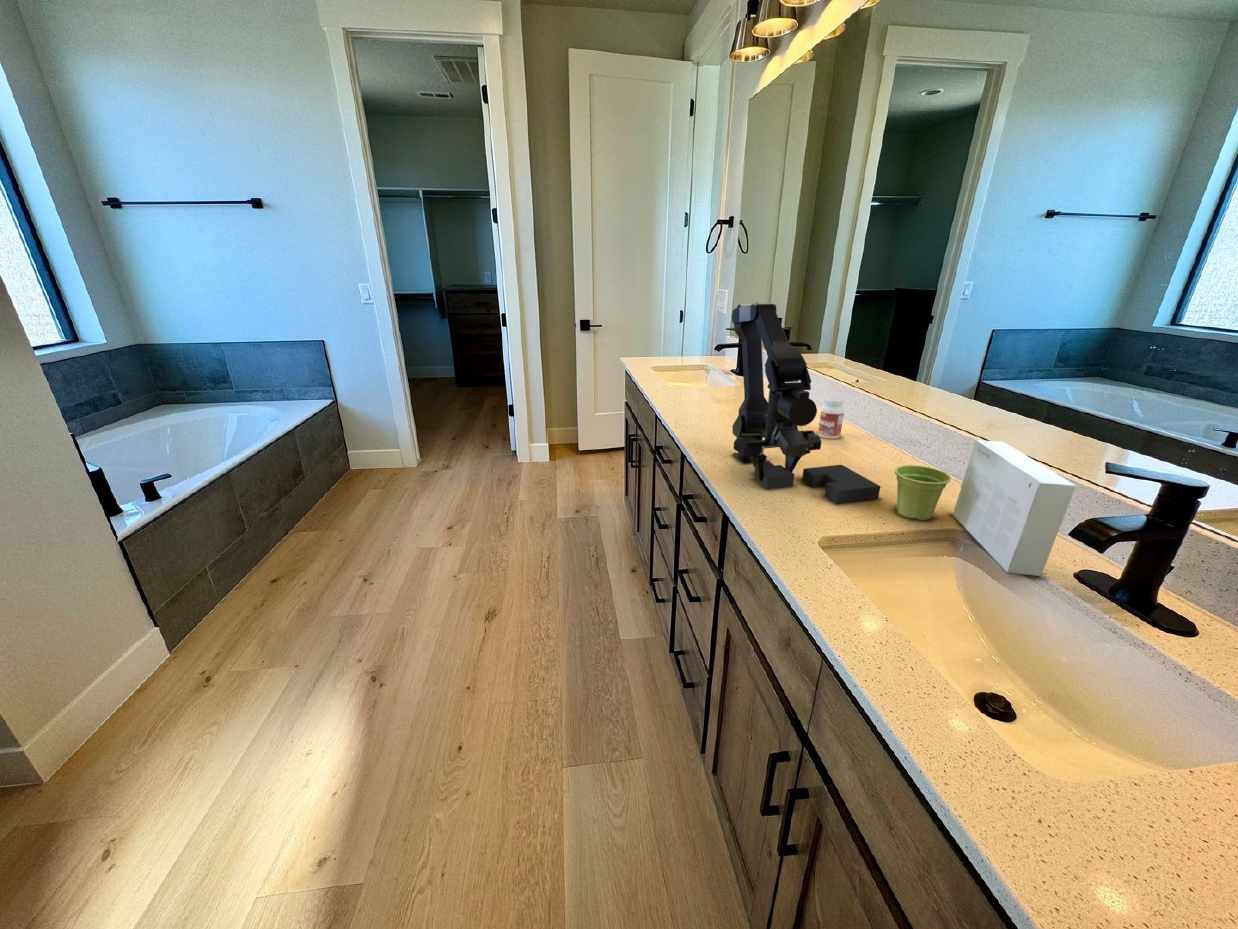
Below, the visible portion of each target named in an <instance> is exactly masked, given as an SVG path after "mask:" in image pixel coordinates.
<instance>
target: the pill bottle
mask: <svg viewBox="0 0 1238 929" xmlns="http://www.w3.org/2000/svg"><path fill="white" fill-rule="evenodd" d="M824 404H825V405H823V406H822V407H821V411H820V416H819V423H818V430H817V436H819V437H820V438H824V439H831V440H835V439H839V438H840V437H841V434H842V427H843V421H844V416H845V408H844V407H843V405H844V399H843V398H840V397H833V396H830V397H826V398H825V400H824Z"/></svg>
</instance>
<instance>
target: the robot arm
mask: <svg viewBox="0 0 1238 929" xmlns="http://www.w3.org/2000/svg"><path fill="white" fill-rule="evenodd" d="M731 321H732V324H733V328H734V333H735V334H736V336H737V337H738V338H739V340H740V341H741V352H742V353H741V354H742V370H743V371H742V375H743V376H742V377H743V396H744V399H743V401H742V403H741V405H740V407H739V408H738V416H737V417H736V419H735V420H734V422H733V424H732V435H733V436H734V437H735V439H734V441H733V449H734V450H735V451H736V452H733V453H732V456H733V457H735V458H736V459H737V460H739V461H740V462H741V463H743V464H748V463H749V464H750V463H751V464H752V466H753V469H754V471H755V472H756V475H757V477H758V480H760V481H762V477H763V466H764V461H767V458H768V456H767V455H766V454H764V452H765V449H775V448H779V450H781V452H782V454H783V455H784V456H785V457H784V459H785V461H784V468H786V469H787V470H789V471H790V472H792V473H793V472H794V470H795V469H796V466H797V464H798V463H799V461H800V460H801V458H802V457H804V456H806V455H809V454H810V453H811V452H812V451H820V450H821V448H822V443H823V442H822V438H821V436H819V435H818V434H817V433H816V432H815V431H814V430H812V429H808V430H799V428H798V427H806V426H808V425H809V424H811V423H812V422H813V421H814V420H815V419H816V417H817V413H818V408H817V405H816V402H815V401H814V400H813V399H811V398H810V393H811V392H809V391H811V390H812V386H811V383H812V379H811V376H810V375H811V374H810V372H809V370H808V366H807V362H806V360H805V358H804V356H803V354H802V353H801V351H800V350H799V349H798V348H797V347H795V346H793V345H792V344H790V342H789V341H788V337H787V336H786V333H785V331H784V328H783V326H782V323H781V321H780V319H779V316H778V314H777V305H776V304H775V303H773V302H755V303H738V305H737V306H736V308H735V307H734V309H733V310H732V313H731ZM762 345H763V346H762ZM763 348H764V350H765V352H766V356H767V357H766V361H765V363H763ZM763 364H764V365H763ZM764 372H765V377H766V380H767V382H768V384H767V385H766V386H767V389H768V390H769V391H768V399H766V397H765V386H764V385H765V384H764Z"/></svg>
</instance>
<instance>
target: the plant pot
mask: <svg viewBox="0 0 1238 929" xmlns="http://www.w3.org/2000/svg"><path fill="white" fill-rule="evenodd" d="M894 473H895V475H896V482H897V488H896V489H897V490H896V491H897V492H896V511H897V513H898V514H899V515H900V516H902V517H905V518H908V519H917V520H920V521H927V520H930V519H931V518H932V517H933V514H934V512H935V510H936V508H937V504H938V502H939V500H940V498H941V495H942V493H943V490H944V489H945V488H946V486H947V484H948V483H950V482H951V480H952V477H951V476H950V474H948V473H946V472H945V471H944V470H940V469H938V468H933V467H930V466H925V465H916V464H905V465H899V466H897V467H895V469H894Z"/></svg>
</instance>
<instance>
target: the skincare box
mask: <svg viewBox="0 0 1238 929" xmlns="http://www.w3.org/2000/svg"><path fill="white" fill-rule="evenodd" d="M961 482H962V483H961V485H960V490H959V494H958V496H957V500H956V503H955V506H954V509H953V512H952V515H953V517H954V518H955V519H956V521H957V522H959V523H960V524H961V525H962V526H963V527H964V529H965V530H966V531H967V532H968V533H969V534H970V535H971V536H972V537H973V538H974V539H975V540H976V542H978V544H980V545H981V547H983V549H984V550H985V551H986V552H987V553H988V554H989V555H990V556H991V557H992V559H994V560H995V561H996V562H997V563H998V565H999V566H1000V567H1001V568H1002V569H1003V570H1004V571H1005V572H1006V573H1008V574H1018V575H1028V576H1037V577H1041V576H1042V575H1043V572H1044V570H1045V567H1046V564H1047V561H1048V559H1049V556H1050V554H1051V552H1052V549H1053V547H1054V544H1055V541H1056V538H1057V536H1058V533H1059V530H1060V529H1061V526H1062V523H1063V520H1064V518H1065V516H1066V513H1067V510H1068V507H1069V506H1070V502H1071V499H1072V497H1073V495H1074V493H1075V489H1076V488H1077V485H1076V484H1074V483H1073V482H1070V480H1068V479H1066V478H1064V477H1063V476H1061V475H1059V474H1057V473H1056V472H1054V471H1053V470H1052V469H1049V468H1048V467H1046V466H1045V465H1043V464H1041V463H1040V462H1038V461H1036V460H1034V459H1033V458H1031V457H1029V456H1028V455H1026V454H1024V453H1022V452H1021V451H1019V450H1018V449H1016V448H1014V447H1013V446H1011V445H1010V444H1008V443H1006V442H1004V441H994V440H982V439H981V440H980V439H974V443H973V447H972V450H971V453H970V457H969V460H968V462H967V467H966V470H965V473H964V476H963V478H962V481H961Z"/></svg>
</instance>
